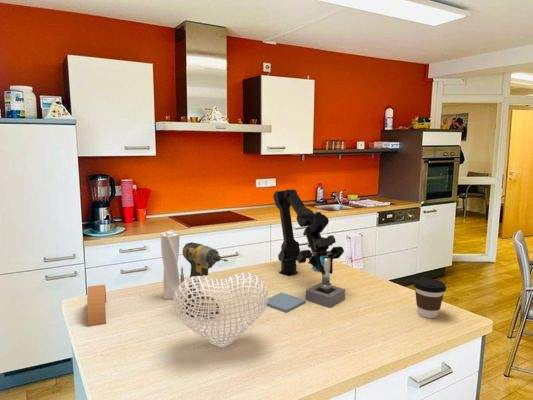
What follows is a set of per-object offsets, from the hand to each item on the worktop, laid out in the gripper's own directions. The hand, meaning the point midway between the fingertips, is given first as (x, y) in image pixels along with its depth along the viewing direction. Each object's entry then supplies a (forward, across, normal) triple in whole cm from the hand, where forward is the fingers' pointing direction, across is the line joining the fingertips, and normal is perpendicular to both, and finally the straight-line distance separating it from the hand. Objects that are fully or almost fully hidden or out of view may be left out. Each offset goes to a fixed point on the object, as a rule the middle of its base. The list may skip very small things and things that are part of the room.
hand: (327, 273), depth 152 cm
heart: (+21, -47, -5) cm, 52 cm away
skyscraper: (-10, -55, +27) cm, 62 cm away
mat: (+5, -17, +10) cm, 20 cm away
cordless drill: (+4, -47, +12) cm, 49 cm away
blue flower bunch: (-16, +16, +32) cm, 39 cm away
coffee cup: (+25, +28, -9) cm, 38 cm away
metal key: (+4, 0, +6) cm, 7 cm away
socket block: (+7, 0, +9) cm, 11 cm away
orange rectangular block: (-6, -83, +22) cm, 86 cm away
